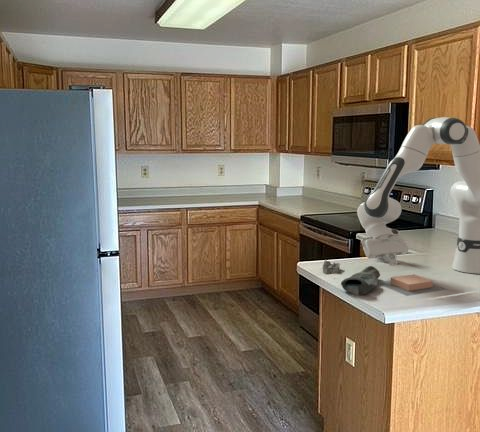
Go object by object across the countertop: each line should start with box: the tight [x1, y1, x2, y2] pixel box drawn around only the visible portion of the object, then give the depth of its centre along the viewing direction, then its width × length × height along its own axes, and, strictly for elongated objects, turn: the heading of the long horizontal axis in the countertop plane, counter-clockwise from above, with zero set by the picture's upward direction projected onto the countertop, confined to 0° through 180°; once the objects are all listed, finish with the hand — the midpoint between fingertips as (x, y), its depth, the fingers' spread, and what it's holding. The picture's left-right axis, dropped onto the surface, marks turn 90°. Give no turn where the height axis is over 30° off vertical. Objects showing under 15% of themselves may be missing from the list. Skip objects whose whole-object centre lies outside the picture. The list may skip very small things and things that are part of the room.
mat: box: [377, 279, 448, 297], centre depth 198 cm, size 20×18×1 cm
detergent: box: [340, 265, 381, 296], centre depth 197 cm, size 13×7×25 cm
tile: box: [390, 274, 434, 291], centre depth 197 cm, size 12×3×10 cm
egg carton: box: [321, 259, 342, 275], centre depth 220 cm, size 10×7×4 cm
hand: (394, 264), depth 205 cm, fingers closed
